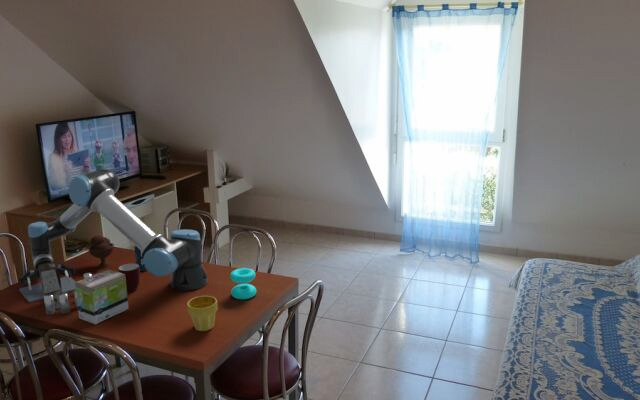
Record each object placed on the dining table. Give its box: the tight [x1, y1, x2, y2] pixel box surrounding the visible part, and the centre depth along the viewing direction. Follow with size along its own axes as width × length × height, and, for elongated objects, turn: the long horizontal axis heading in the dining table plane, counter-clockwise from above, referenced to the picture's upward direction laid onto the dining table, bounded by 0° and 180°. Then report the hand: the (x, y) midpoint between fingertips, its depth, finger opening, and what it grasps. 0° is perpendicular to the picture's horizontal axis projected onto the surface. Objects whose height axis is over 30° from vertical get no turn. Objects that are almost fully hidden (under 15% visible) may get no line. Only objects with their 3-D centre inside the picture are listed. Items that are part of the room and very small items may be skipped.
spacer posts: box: [43, 272, 93, 315], centre depth 225 cm, size 17×21×7 cm
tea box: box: [75, 269, 129, 325], centre depth 214 cm, size 15×10×15 cm, turn 148°
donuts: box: [229, 267, 258, 300], centre depth 228 cm, size 10×10×10 cm
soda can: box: [134, 245, 148, 271], centre depth 257 cm, size 7×7×12 cm
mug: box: [118, 262, 141, 293], centre depth 234 cm, size 11×8×10 cm
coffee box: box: [38, 261, 62, 310], centre depth 222 cm, size 9×6×16 cm
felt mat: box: [18, 276, 76, 304], centre depth 237 cm, size 16×20×1 cm
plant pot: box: [186, 295, 219, 332], centre depth 203 cm, size 10×10×10 cm
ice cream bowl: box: [88, 234, 115, 269], centre depth 260 cm, size 11×11×15 cm
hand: (49, 282), depth 223 cm, fingers open, 13 cm apart
